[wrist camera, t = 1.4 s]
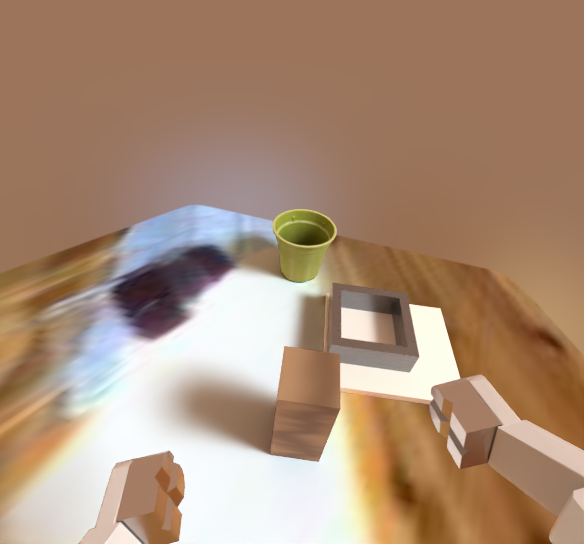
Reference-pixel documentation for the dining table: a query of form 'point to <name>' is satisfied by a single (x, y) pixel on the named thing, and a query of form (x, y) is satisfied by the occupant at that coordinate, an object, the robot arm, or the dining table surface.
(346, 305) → the steel collar
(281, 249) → the plant pot
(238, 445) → the dining table surface
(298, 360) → the walnut post
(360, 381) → the base plate
